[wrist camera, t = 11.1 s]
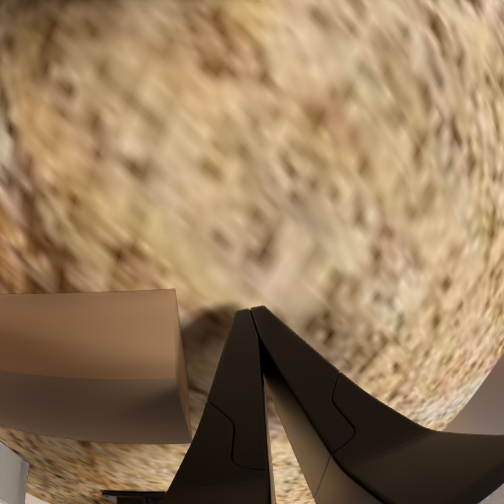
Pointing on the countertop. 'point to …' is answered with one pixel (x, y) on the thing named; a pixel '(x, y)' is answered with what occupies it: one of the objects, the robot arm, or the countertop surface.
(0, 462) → the end cap
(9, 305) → the slat
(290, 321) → the countertop surface
